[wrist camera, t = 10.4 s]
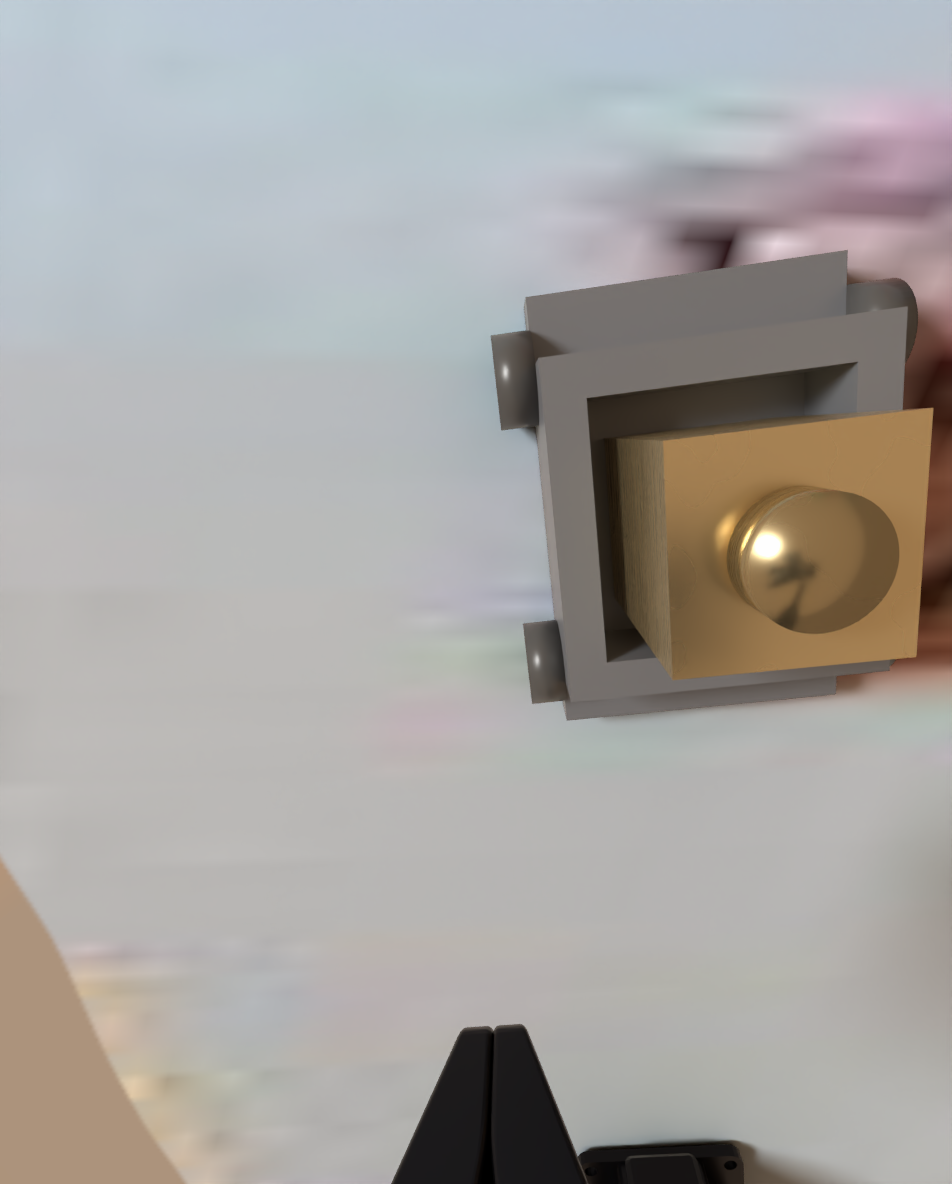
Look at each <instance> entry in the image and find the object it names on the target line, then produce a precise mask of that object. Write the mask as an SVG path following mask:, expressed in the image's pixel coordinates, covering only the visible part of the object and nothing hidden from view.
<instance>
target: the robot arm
mask: <svg viewBox="0 0 952 1184" xmlns="http://www.w3.org/2000/svg"><path fill="white" fill-rule="evenodd" d="M391 1184H744V1168H743V1162H742V1159H741V1156H740V1153H739V1150H738V1149H737V1148H736V1147H735V1146H733V1145H727V1144H725V1145H704V1146H683V1147H662V1148H641V1149H620V1150H599V1151H586V1152H583V1153H581V1154H580V1155H579V1156H577V1154H576V1151H575V1149H574V1146H573V1144H572V1141H571V1139H570V1136H569V1134H568V1131H567V1129H566V1126H565V1124H564V1121H563V1119H562V1116H561V1114H560V1111H559V1109H558V1106H557V1104H556V1101H555V1099H554V1096H553V1094H552V1091H551V1089H550V1086H549V1084H548V1081H547V1079H546V1076H545V1074H544V1071H543V1069H542V1066H541V1064H540V1061H539V1059H538V1056H537V1054H536V1051H535V1049H534V1046H533V1044H532V1041H531V1039H530V1036H529V1034H528V1031H527V1029H526V1028H525V1026H523V1025H522V1024H514V1025H499V1026H497V1027H496V1028H495V1030H494V1031H493V1029H492V1028H491V1027H488V1026H483V1027H467V1028H464V1029H463V1030H462V1031H461V1032H460V1034H459V1035H458V1037H457V1040H456V1042H455V1044H454V1046H453V1049H452V1051H451V1053H450V1055H449V1057H448V1060H447V1062H446V1064H445V1066H444V1068H443V1071H442V1073H441V1075H440V1077H439V1079H438V1082H437V1084H436V1086H435V1088H434V1090H433V1093H432V1095H431V1097H430V1099H429V1101H428V1104H427V1106H426V1108H425V1110H424V1113H423V1115H422V1117H421V1119H420V1121H419V1124H418V1126H417V1128H416V1130H415V1132H414V1135H413V1137H412V1139H411V1141H410V1143H409V1146H408V1148H407V1150H406V1152H405V1154H404V1157H403V1159H402V1161H401V1163H400V1165H399V1168H398V1170H397V1172H396V1174H395V1177H394V1179H393V1181H392V1183H391Z"/></svg>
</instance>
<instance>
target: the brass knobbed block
mask: <svg viewBox="0 0 952 1184" xmlns="http://www.w3.org/2000/svg"><path fill="white" fill-rule="evenodd" d="M932 421H933V408H921V409H905V410H888V411H872V412H855V413H839V414H822V415H806V416H789V417H774V418H766V419H757V420H749V421H741V422H733V423H725V424H717V425H709V426H701V427H693V428H684V429H676V430H668V431H660V432H652V433H644V434H636V435H628V436H620V437H611V438H604V442H605V457H606V473H607V488H608V503H609V519H610V534H611V550H612V565H613V580H614V596H615V599H616V600H617V602H618V603H619V605H620V606H621V607H622V609H623V610H624V612H625V613H626V615H627V616H628V617H629V619H630V620H631V622H632V623H633V624H634V626H635V627H636V629H637V630H638V632H639V633H640V634H641V636H642V637H643V639H644V640H645V642H646V643H647V644H648V646H649V647H650V649H651V650H652V651H653V653H654V654H655V656H656V657H657V659H658V660H659V661H660V663H661V664H662V666H663V667H664V669H665V670H666V671H667V673H668V674H669V676H670V677H671V678H672V680H681V679H691V678H702V677H712V676H723V675H733V674H744V673H754V672H765V671H775V670H786V669H796V668H807V667H817V666H827V665H838V664H848V663H859V662H869V661H880V660H890V659H901V658H911V657H916V654H917V640H918V625H919V610H920V596H921V581H922V567H923V552H924V537H925V523H926V508H927V494H928V479H929V464H930V450H931V435H932Z"/></svg>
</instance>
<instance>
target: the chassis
mask: <svg viewBox="0 0 952 1184" xmlns="http://www.w3.org/2000/svg"><path fill="white" fill-rule="evenodd" d="M847 253H848V250H845V251H838V252H831V253H825V254H818V255H811V256H804V257H797V258H791V259H784V260H777V261H770V262H763V263H756V264H750V265H743V266H736V267H729V268H722V269H716V270H709V271H702V272H695V273H688V274H682V275H675V276H668V277H661V278H654V279H648V280H641V281H634V282H627V283H620V284H613V285H607V286H600V287H593V288H586V289H579V290H573V291H566V292H559V293H552V294H545V295H539V296H532V297H526V299H525V304H524V313H525V323H526V331H519V332H512V333H505V334H498V335H491V342H492V352H493V361H494V370H495V379H496V388H497V396H498V405H499V414H500V423H501V430H508V429H516V428H524V427H531V426H536V435H537V445H538V455H539V465H540V476H541V486H542V496H543V506H544V516H545V526H546V537H547V547H548V557H549V567H550V577H551V587H552V598H553V608H554V618H555V620H551V621H542V622H533V623H524V624H523V627H524V636H525V645H526V654H527V663H528V672H529V680H530V689H531V698H532V704H535V703H545V702H555V701H563V706H564V710H565V714H566V719H567V720H577V719H588V718H598V717H608V716H618V715H629V714H639V713H649V712H659V711H670V710H680V709H690V708H701V707H711V706H721V705H731V704H742V703H752V702H762V701H772V700H783V699H793V698H803V697H813V696H824V695H834V694H836V676H841V675H851V674H862V673H872V672H882V671H889V670H890V666H891V665H892V664H893V663H894V661H895V660H896V659H890V660H880V661H869V662H859V663H848V664H838V665H827V666H817V667H807V668H796V669H786V670H775V671H765V672H754V673H744V674H733V675H723V676H712V677H702V678H691V679H681V680H672V678H671V677H670V676H669V674H668V673H667V671H666V670H665V669H664V667H663V666H662V664H661V663H660V661H659V660H658V659H657V657H656V656H655V654H654V653H653V651H652V650H651V649H650V647H649V646H648V644H647V643H646V642H645V640H644V639H643V637H642V636H641V634H640V633H639V632H638V630H637V629H636V627H635V626H634V624H633V623H632V622H631V620H630V619H629V617H628V616H627V615H626V613H625V612H624V610H623V609H622V607H621V606H620V605H619V603H618V602H617V600H616V599H615V596H614V580H613V565H612V550H611V534H610V519H609V503H608V488H607V473H606V457H605V442H604V438H611V437H620V436H628V435H636V434H644V433H652V432H660V431H668V430H676V429H684V428H693V427H701V426H709V425H717V424H725V423H733V422H741V421H749V420H757V419H766V418H774V417H789V416H806V415H822V414H839V413H855V412H872V411H888V410H903V391H904V371H905V363H906V361H907V359H908V357H909V355H910V353H911V351H912V348H913V345H914V341H915V338H916V332H917V324H918V311H917V304H916V299H915V296H914V294H913V291H912V289H911V288H910V286H909V285H908V284H907V283H906V282H905V281H904V280H901V279H899V278H890V279H883V280H876V281H869V282H862V283H855V284H849V285H847Z"/></svg>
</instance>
